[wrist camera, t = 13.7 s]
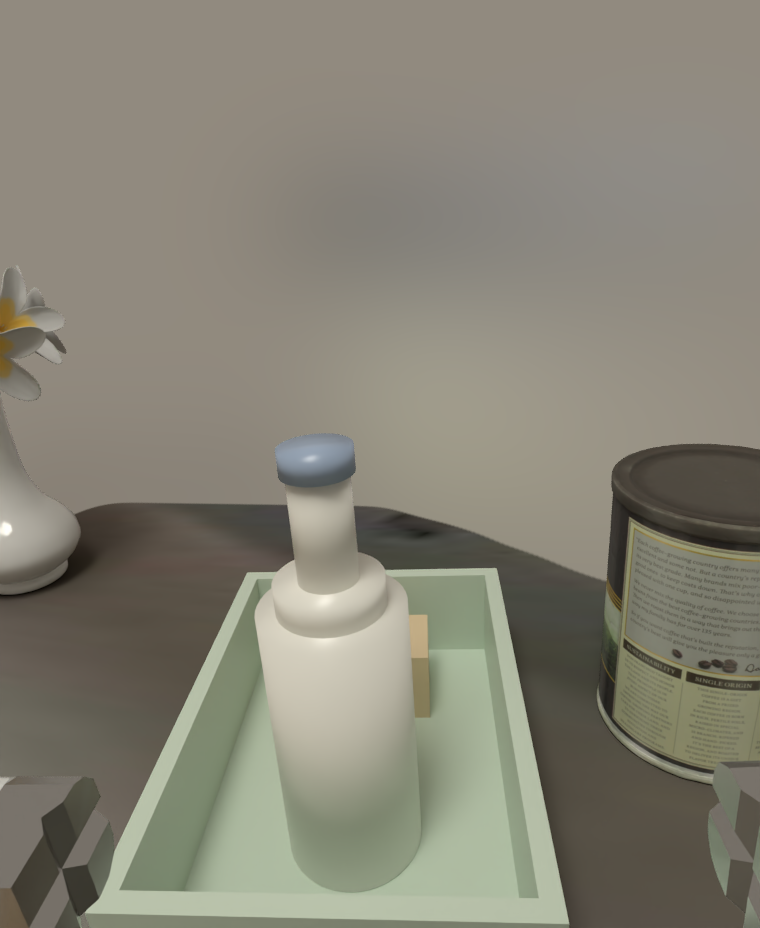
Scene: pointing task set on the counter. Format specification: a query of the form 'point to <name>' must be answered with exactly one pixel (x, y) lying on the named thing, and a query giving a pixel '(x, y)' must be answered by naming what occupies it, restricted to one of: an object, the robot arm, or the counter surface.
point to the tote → (262, 807)
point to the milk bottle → (339, 682)
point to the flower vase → (3, 475)
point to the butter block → (420, 664)
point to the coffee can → (684, 608)
